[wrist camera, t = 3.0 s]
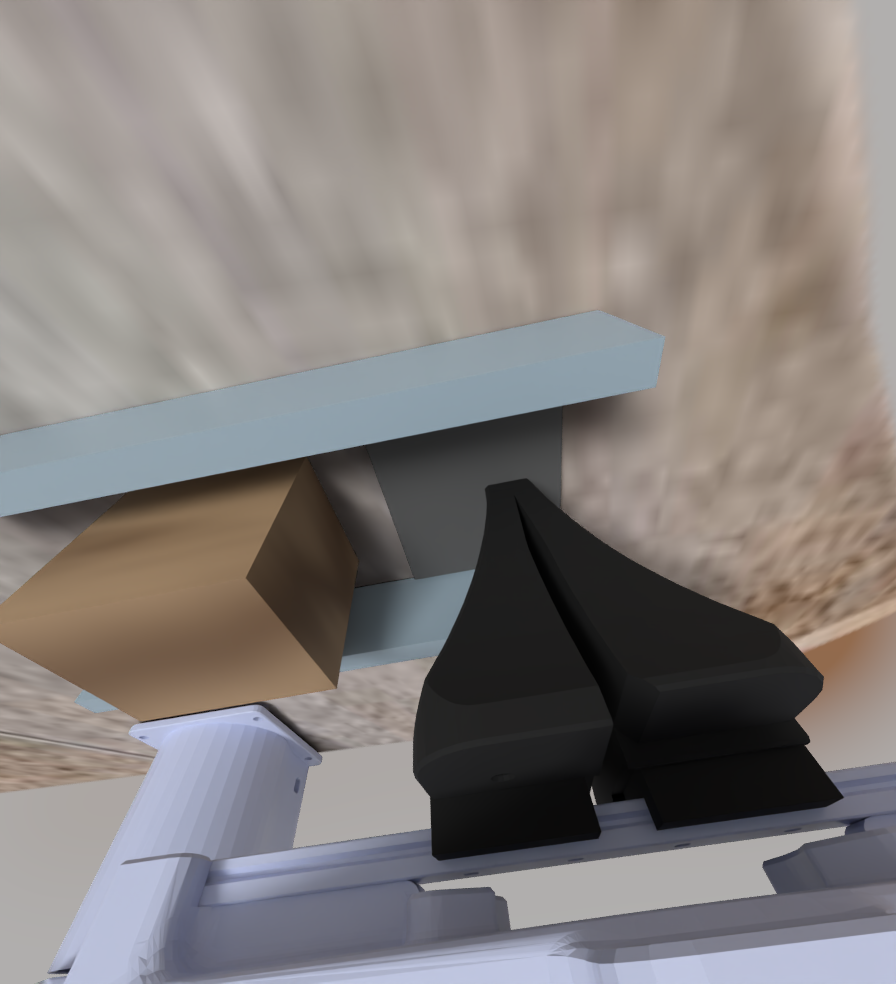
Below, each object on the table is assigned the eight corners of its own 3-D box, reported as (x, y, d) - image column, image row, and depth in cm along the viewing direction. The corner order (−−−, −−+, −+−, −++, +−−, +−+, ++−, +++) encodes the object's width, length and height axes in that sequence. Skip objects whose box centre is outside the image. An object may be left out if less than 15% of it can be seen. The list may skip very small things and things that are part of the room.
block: (359, 559, 14) (336, 688, 10) (217, 585, 14) (141, 721, 10) (307, 454, 11) (245, 577, 7) (130, 489, 11) (-26, 628, 7)
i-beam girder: (579, 563, 15) (611, 626, 13) (143, 640, 16) (95, 713, 13) (598, 310, 9) (665, 336, 7) (-100, 456, 10) (-264, 526, 8)
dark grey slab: (557, 548, 14) (559, 554, 14) (414, 574, 15) (414, 579, 14) (559, 363, 10) (563, 367, 10) (353, 405, 10) (352, 409, 10)
